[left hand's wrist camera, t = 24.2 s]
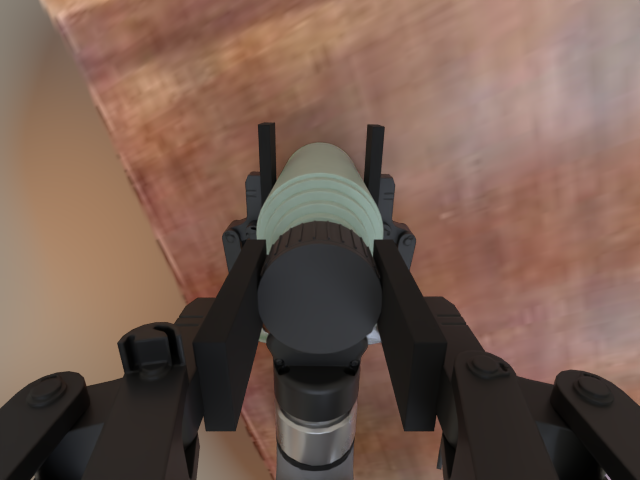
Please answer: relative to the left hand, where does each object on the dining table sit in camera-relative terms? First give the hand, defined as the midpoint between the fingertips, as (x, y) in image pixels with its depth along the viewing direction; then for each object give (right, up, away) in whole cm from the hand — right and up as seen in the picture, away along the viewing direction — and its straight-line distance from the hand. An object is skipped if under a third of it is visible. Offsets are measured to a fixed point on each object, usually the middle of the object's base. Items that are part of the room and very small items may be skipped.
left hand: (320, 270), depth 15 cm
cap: (0, -1, -2) cm, 2 cm away
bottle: (0, +7, +17) cm, 18 cm away
